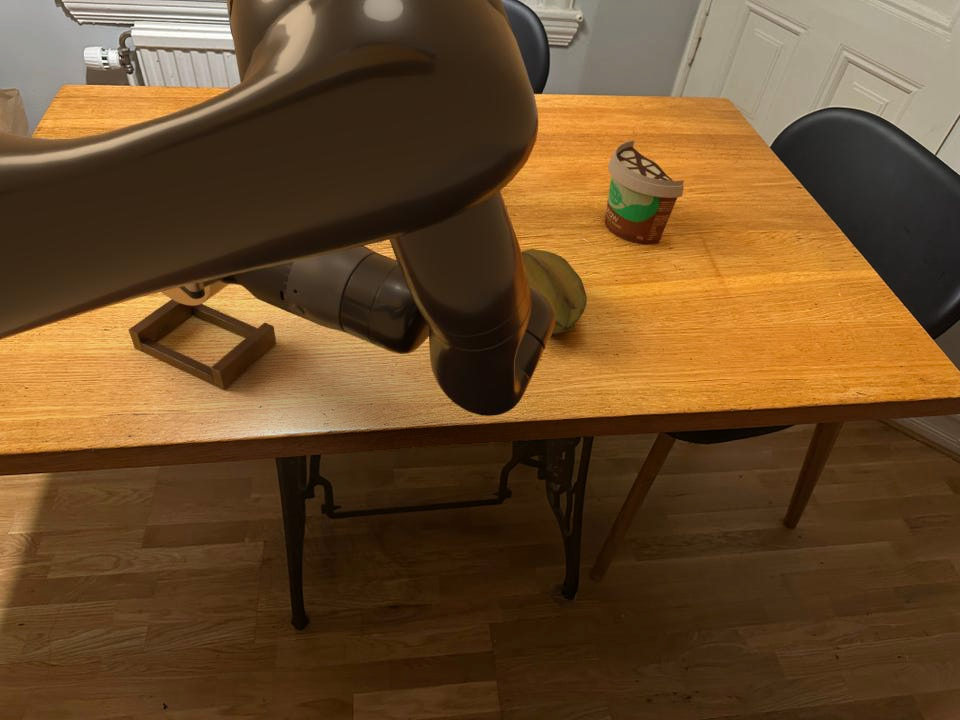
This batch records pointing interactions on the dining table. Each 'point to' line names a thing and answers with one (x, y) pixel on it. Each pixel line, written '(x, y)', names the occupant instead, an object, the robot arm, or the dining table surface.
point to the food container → (639, 196)
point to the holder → (218, 374)
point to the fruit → (556, 286)
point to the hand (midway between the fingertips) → (160, 212)
